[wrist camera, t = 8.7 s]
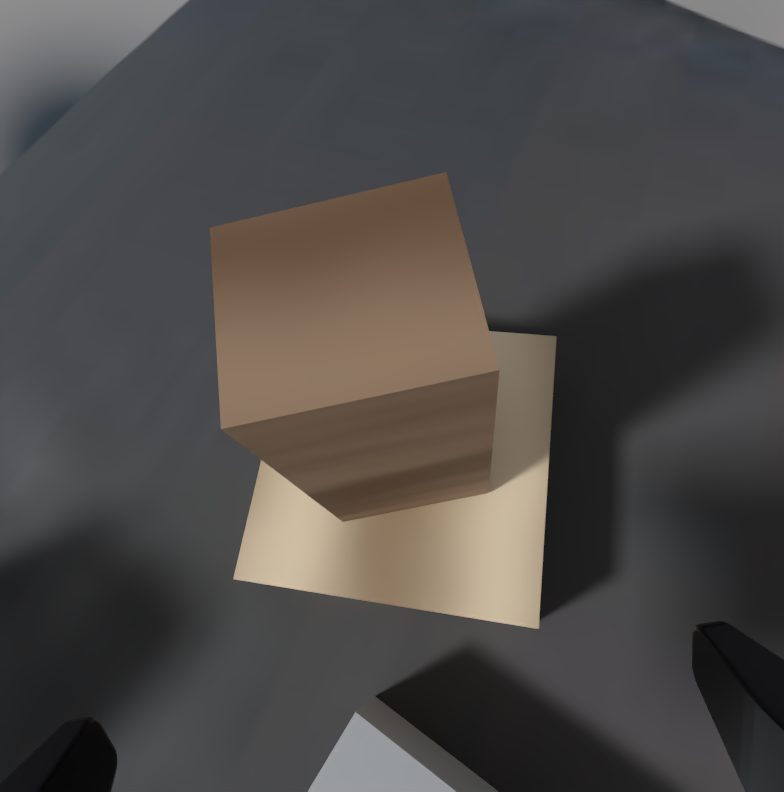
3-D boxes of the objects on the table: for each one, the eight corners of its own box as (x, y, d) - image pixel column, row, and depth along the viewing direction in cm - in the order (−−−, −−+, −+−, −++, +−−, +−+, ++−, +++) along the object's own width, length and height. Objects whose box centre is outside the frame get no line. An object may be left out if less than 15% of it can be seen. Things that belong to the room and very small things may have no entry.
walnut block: (488, 492, 19) (500, 369, 10) (342, 522, 19) (221, 429, 10) (459, 372, 21) (445, 172, 12) (326, 400, 21) (210, 227, 12)
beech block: (543, 378, 25) (556, 336, 21) (526, 626, 21) (538, 629, 17) (319, 358, 26) (295, 315, 23) (271, 584, 23) (233, 579, 19)
